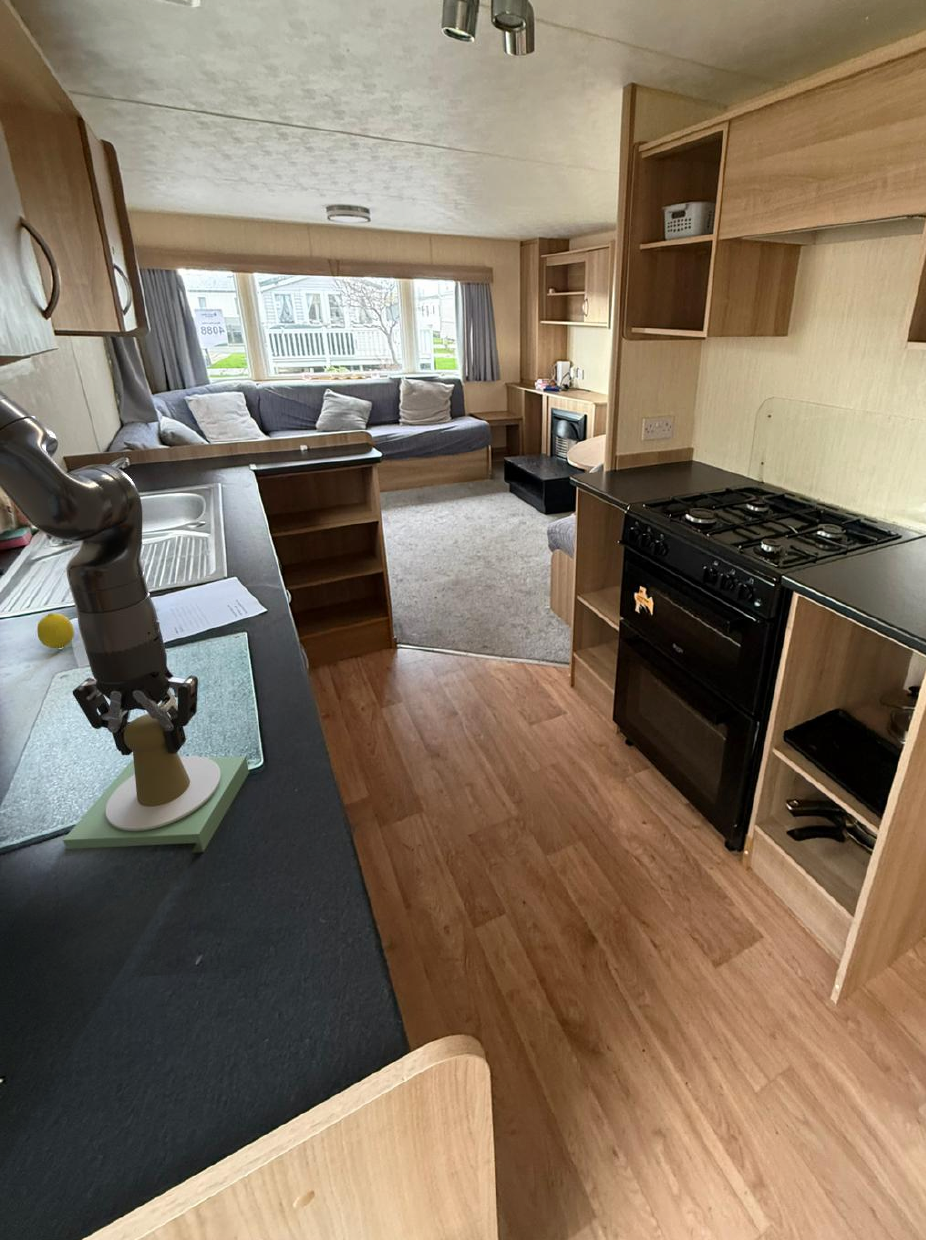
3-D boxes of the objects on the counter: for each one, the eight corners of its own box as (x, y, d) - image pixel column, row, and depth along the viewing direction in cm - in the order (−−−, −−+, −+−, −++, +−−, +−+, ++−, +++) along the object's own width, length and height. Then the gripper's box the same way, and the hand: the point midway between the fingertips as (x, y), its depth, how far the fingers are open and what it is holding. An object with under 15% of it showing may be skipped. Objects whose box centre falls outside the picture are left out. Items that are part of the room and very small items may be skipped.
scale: (66, 858, 73) (58, 835, 71) (134, 777, 86) (127, 755, 84) (203, 852, 74) (197, 829, 72) (249, 772, 87) (245, 751, 85)
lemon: (42, 648, 119) (31, 613, 117) (76, 639, 123) (66, 604, 120) (45, 659, 116) (33, 622, 113) (80, 649, 119) (69, 614, 116)
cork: (128, 810, 75) (107, 738, 71) (148, 776, 81) (129, 708, 77) (180, 803, 76) (162, 732, 72) (196, 770, 82) (180, 703, 78)
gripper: (35, 652, 67) (75, 773, 72) (167, 648, 67) (196, 768, 73) (81, 620, 74) (114, 733, 79) (200, 618, 74) (224, 729, 80)
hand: (153, 749), depth 76 cm, fingers closed on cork, 5 cm apart
